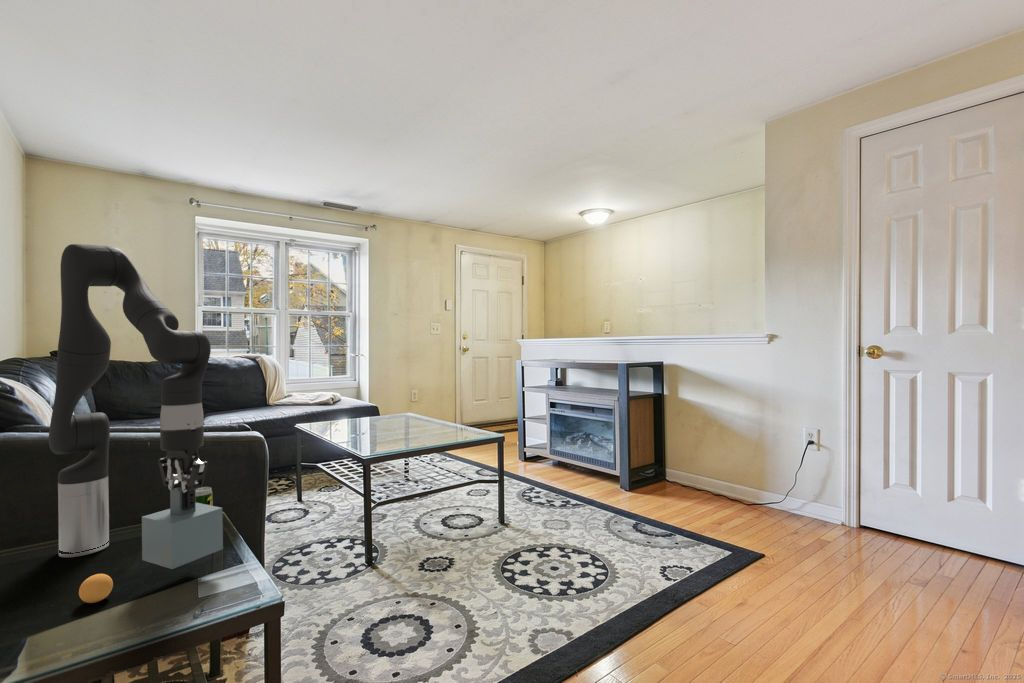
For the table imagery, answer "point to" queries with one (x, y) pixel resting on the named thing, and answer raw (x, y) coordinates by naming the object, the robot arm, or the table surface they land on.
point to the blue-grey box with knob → (181, 533)
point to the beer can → (204, 496)
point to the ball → (95, 588)
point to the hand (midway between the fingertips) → (183, 507)
